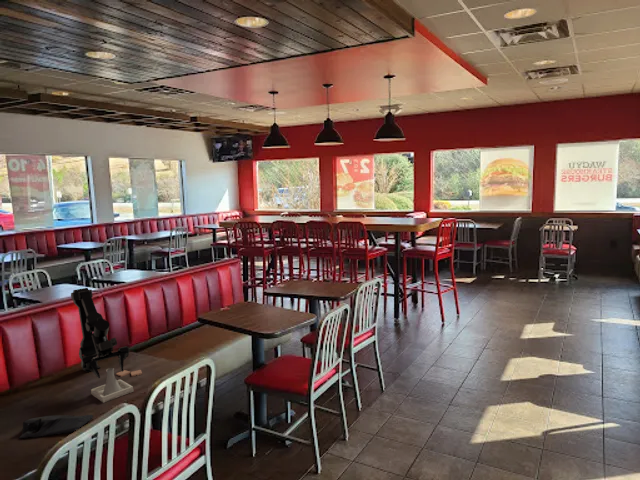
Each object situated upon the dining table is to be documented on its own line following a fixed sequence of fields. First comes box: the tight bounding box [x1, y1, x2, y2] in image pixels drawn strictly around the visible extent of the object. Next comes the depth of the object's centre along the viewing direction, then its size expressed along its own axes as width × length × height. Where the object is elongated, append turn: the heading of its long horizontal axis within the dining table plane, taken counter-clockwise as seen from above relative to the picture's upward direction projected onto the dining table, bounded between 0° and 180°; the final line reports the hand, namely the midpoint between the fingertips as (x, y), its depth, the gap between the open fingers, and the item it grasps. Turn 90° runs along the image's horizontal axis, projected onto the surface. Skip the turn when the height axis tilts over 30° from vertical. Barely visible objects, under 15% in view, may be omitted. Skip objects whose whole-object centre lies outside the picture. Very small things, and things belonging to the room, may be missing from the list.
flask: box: [103, 367, 122, 395], centre depth 199 cm, size 7×7×10 cm
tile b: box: [130, 369, 143, 377], centre depth 220 cm, size 4×4×1 cm
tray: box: [90, 378, 134, 404], centre depth 200 cm, size 13×13×2 cm
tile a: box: [115, 369, 131, 378], centre depth 221 cm, size 4×4×1 cm
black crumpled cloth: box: [18, 414, 94, 439], centre depth 174 cm, size 15×22×5 cm
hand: (111, 374), depth 198 cm, fingers open, 9 cm apart
